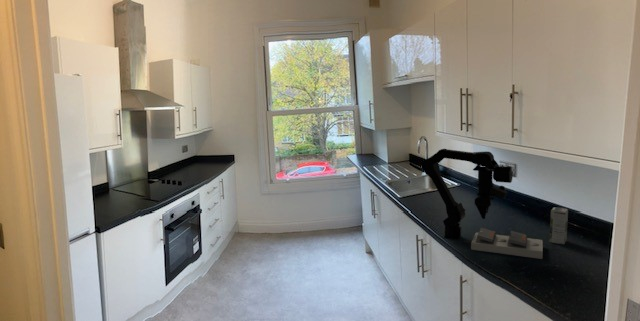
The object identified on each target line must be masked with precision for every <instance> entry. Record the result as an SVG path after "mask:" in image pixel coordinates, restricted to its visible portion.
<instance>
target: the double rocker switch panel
mask: <svg viewBox="0 0 640 321" xmlns="http://www.w3.org/2000/svg"><path fill="white" fill-rule="evenodd" d="M478 233H479V232H475V234H474V235H473V238H472V240H471V241H470V240H463V243H464V244H470V250H472V251H479V252H487V253H488V252H489V253H495V254H501V255H509V256H518V257H524V258H525V257H526V258H530V259H531V258H532V259H538V260H539V259H540V260H543V258H544V257H543V253H544V252H543V250H544V249H543V245H544V244H543V239H539V238H538V239H537V238H529V237H526V245H525V246H522V245H519V244H515V243H511V242H509V237H510V235H502V234H495V235H494V238H493V241H492V242H489V241H486V240H483V239H479V238H477V235H478Z"/></svg>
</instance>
